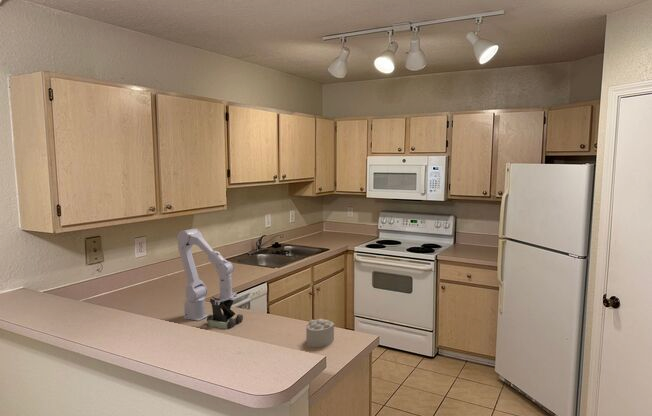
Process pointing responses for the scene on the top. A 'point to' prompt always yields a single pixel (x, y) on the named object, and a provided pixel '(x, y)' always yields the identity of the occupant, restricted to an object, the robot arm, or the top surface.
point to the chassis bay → (223, 324)
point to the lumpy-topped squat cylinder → (319, 333)
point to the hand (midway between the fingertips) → (226, 315)
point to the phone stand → (217, 311)
